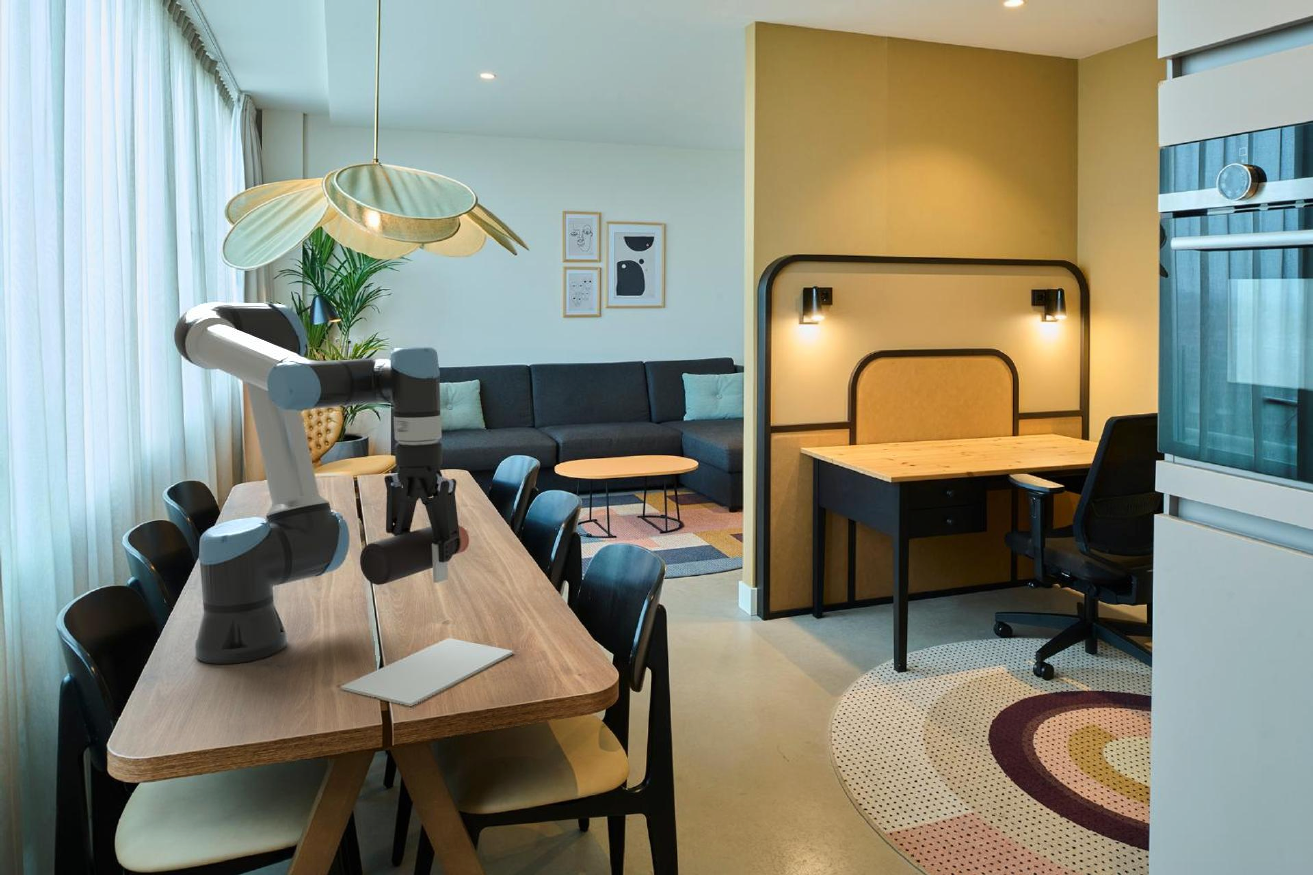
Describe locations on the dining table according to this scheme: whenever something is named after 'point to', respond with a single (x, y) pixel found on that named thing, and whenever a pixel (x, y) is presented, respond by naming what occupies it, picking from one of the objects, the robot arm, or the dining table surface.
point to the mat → (427, 671)
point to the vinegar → (404, 555)
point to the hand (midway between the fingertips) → (424, 577)
